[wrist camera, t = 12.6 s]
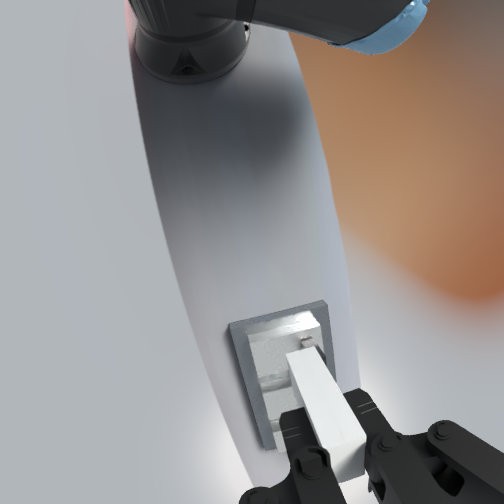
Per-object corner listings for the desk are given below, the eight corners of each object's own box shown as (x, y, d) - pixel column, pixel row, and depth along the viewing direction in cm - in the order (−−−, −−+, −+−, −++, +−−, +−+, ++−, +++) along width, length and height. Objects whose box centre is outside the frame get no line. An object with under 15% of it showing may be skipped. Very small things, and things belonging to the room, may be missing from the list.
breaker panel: (229, 323, 40) (233, 358, 31) (322, 299, 41) (350, 327, 32) (263, 442, 45) (272, 483, 35) (336, 422, 46) (355, 458, 36)
